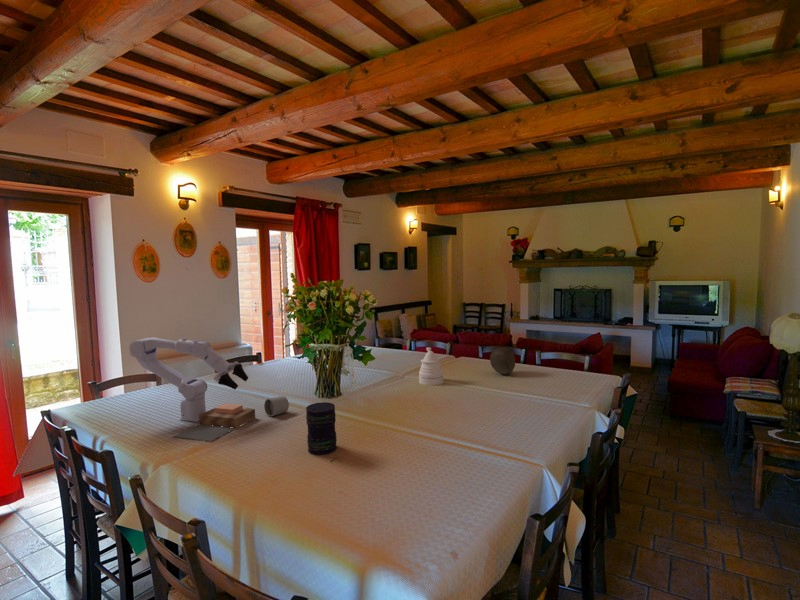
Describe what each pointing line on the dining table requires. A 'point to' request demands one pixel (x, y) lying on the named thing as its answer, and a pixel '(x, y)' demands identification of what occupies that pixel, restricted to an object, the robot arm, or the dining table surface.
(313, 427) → the storage jar
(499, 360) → the dark brown round vase
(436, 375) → the honey pot
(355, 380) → the dining table surface
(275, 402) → the grey cylinder
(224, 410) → the salmon pink panel
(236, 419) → the deck
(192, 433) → the mat
